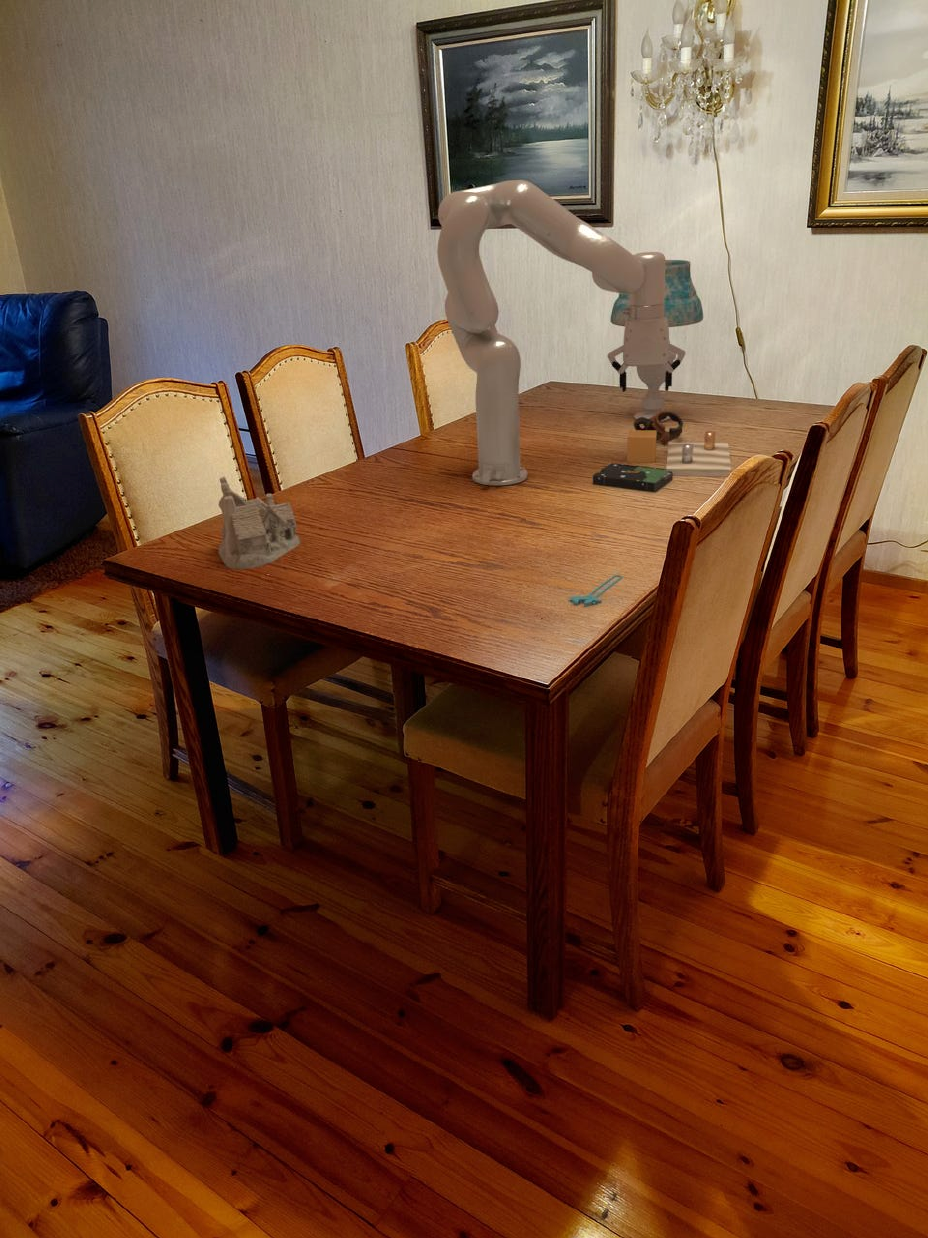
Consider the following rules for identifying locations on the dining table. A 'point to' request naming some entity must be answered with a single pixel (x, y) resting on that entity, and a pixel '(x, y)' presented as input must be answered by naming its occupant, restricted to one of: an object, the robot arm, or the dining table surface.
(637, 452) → the mustard wooden cube
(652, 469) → the disk drive
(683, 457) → the steel post
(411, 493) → the dining table surface
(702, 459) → the birch board
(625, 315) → the table lamp
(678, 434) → the brown wheeled mechanism
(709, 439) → the copper post
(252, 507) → the ceramic cottage
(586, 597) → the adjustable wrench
